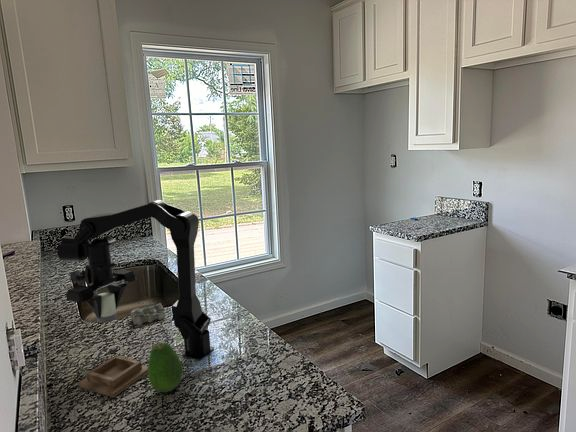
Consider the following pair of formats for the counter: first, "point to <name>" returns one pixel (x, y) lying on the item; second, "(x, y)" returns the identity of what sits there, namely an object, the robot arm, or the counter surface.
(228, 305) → the counter surface
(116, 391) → the holder
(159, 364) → the avocado
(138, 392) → the counter surface
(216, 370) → the counter surface
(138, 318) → the egg carton
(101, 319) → the white rounded cylinder
